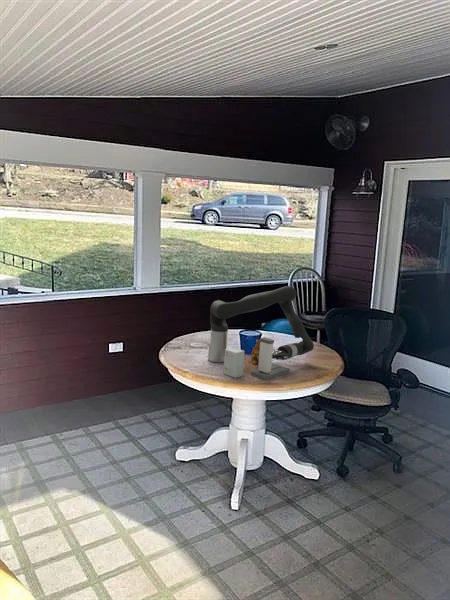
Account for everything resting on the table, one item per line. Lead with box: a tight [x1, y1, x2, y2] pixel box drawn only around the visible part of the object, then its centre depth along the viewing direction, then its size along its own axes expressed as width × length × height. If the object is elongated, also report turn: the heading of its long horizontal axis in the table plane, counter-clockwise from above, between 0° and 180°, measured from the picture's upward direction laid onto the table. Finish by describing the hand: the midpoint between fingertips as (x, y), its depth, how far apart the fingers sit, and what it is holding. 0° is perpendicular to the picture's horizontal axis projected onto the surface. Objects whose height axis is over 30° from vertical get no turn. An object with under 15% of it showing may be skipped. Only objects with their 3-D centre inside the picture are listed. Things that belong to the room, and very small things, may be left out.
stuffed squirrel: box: [250, 338, 260, 366], centre depth 277 cm, size 10×14×13 cm
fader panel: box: [250, 363, 291, 381], centre depth 257 cm, size 20×10×2 cm, turn 137°
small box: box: [223, 347, 245, 378], centre depth 251 cm, size 8×6×13 cm
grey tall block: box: [257, 336, 275, 373], centre depth 252 cm, size 4×6×17 cm, turn 47°
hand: (267, 357), depth 253 cm, fingers closed
